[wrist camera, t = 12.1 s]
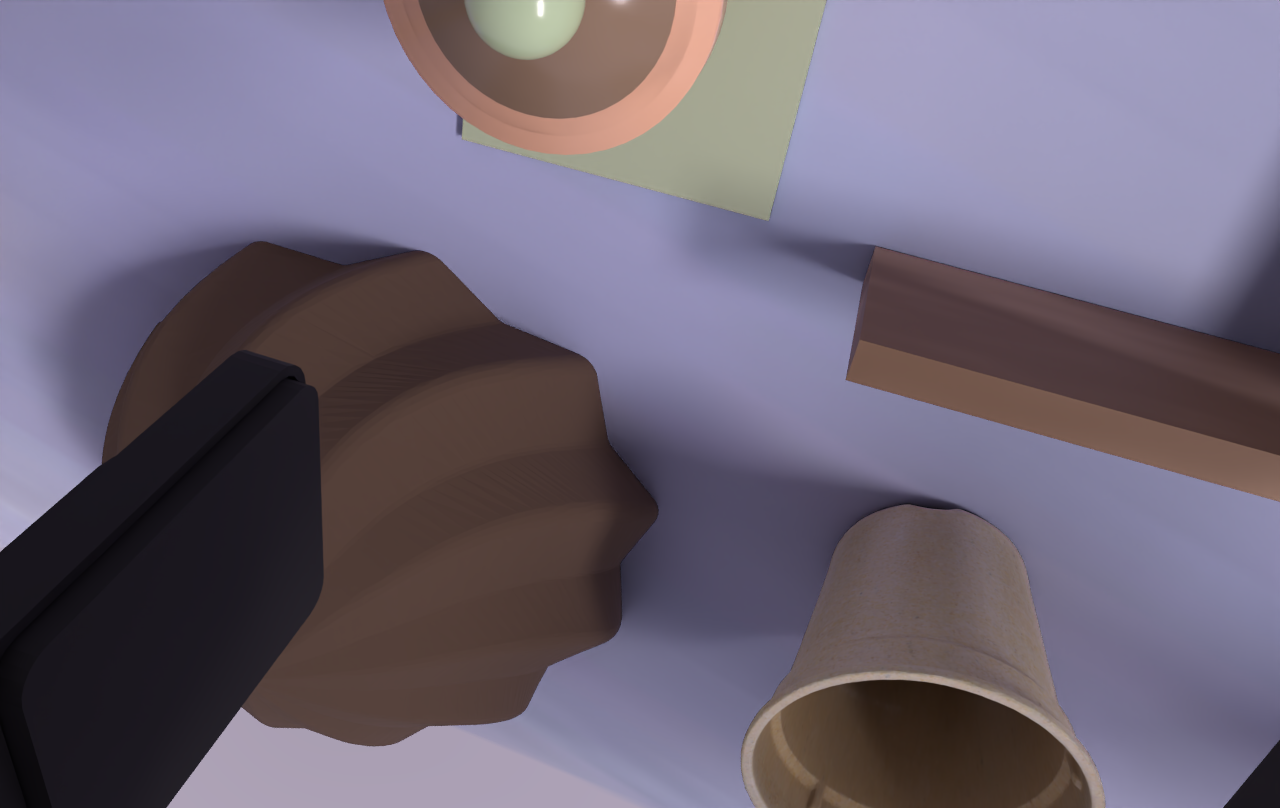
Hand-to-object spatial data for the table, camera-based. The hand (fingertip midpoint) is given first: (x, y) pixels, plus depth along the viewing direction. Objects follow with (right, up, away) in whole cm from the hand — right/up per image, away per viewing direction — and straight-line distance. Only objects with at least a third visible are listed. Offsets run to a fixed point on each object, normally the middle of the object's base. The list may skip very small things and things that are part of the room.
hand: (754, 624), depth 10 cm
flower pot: (+8, -3, +25) cm, 27 cm away
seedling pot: (-1, +14, +16) cm, 21 cm away
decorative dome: (-10, 0, +29) cm, 31 cm away
